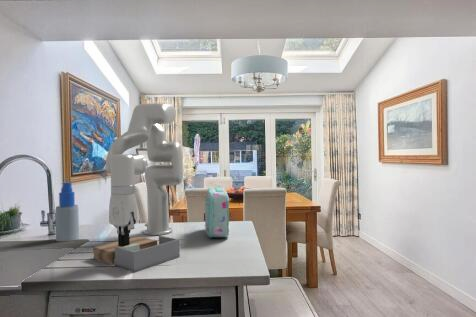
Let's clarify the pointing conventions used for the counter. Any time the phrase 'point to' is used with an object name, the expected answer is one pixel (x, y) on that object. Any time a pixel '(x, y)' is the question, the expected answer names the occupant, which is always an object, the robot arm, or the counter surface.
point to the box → (147, 255)
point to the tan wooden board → (108, 250)
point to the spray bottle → (67, 215)
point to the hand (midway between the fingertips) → (123, 245)
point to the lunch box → (216, 212)
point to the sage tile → (132, 247)
